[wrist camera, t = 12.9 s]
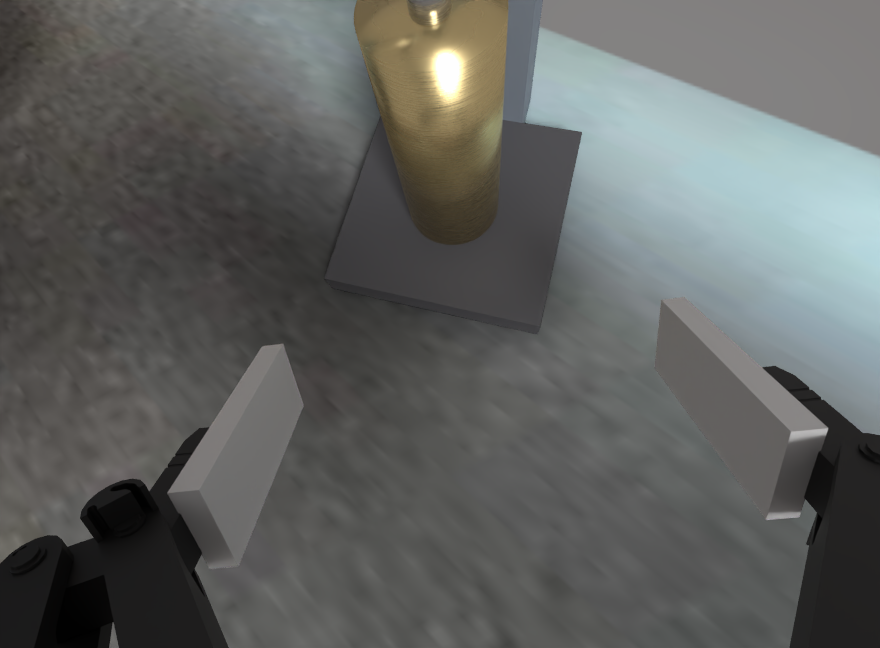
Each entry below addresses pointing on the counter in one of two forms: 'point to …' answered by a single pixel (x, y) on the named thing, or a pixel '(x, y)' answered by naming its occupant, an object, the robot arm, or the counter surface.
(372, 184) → the press
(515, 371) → the counter surface
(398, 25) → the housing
